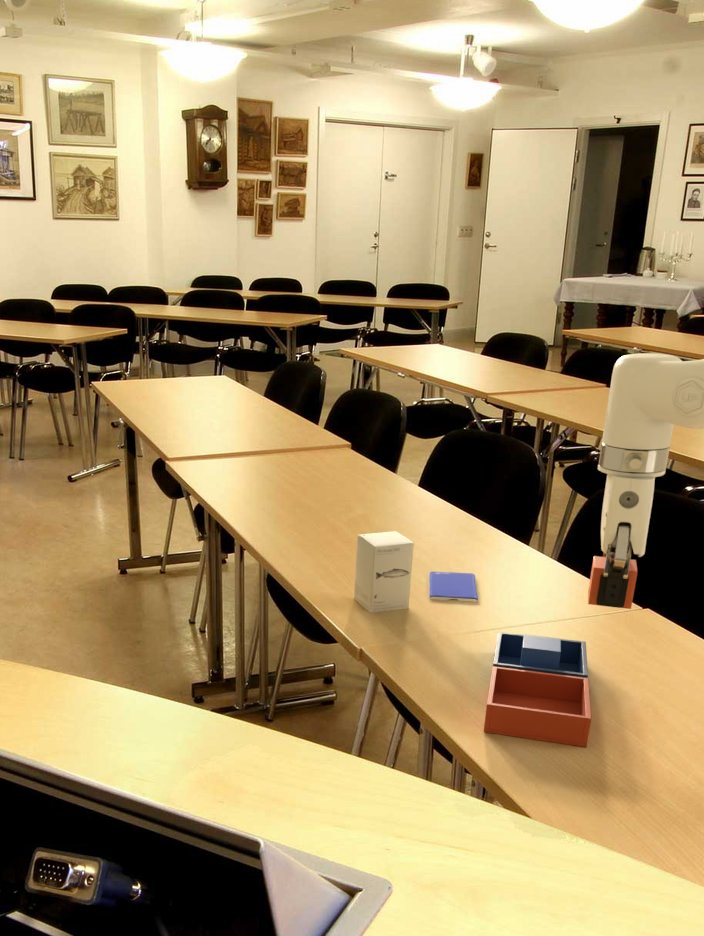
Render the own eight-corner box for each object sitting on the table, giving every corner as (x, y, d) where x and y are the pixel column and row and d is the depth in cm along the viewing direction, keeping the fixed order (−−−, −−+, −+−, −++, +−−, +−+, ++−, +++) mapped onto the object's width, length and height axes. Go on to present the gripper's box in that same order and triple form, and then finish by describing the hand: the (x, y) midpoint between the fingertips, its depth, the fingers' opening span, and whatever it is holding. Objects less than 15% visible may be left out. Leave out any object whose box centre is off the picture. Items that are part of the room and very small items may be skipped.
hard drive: (429, 571, 170) (429, 595, 159) (474, 573, 168) (478, 597, 157) (428, 578, 171) (428, 603, 160) (474, 581, 169) (477, 606, 158)
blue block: (556, 669, 132) (560, 638, 131) (556, 684, 128) (560, 651, 126) (519, 665, 134) (523, 634, 132) (518, 679, 130) (522, 647, 128)
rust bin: (584, 704, 123) (588, 677, 122) (586, 747, 113) (591, 718, 111) (489, 691, 128) (492, 666, 126) (483, 731, 117) (486, 704, 116)
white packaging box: (369, 617, 155) (373, 546, 150) (352, 601, 161) (356, 533, 156) (409, 612, 156) (414, 542, 151) (391, 597, 163) (396, 529, 158)
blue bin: (581, 666, 134) (585, 641, 133) (583, 702, 124) (588, 675, 123) (495, 655, 139) (498, 631, 137) (490, 689, 128) (493, 663, 127)
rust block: (629, 596, 119) (635, 559, 117) (631, 609, 115) (637, 571, 113) (588, 591, 121) (593, 555, 119) (588, 604, 117) (593, 567, 115)
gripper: (672, 476, 102) (644, 625, 109) (662, 447, 117) (638, 580, 124) (599, 472, 105) (577, 617, 112) (598, 444, 120) (578, 574, 127)
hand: (609, 596), depth 118 cm, fingers closed on rust block, 5 cm apart
